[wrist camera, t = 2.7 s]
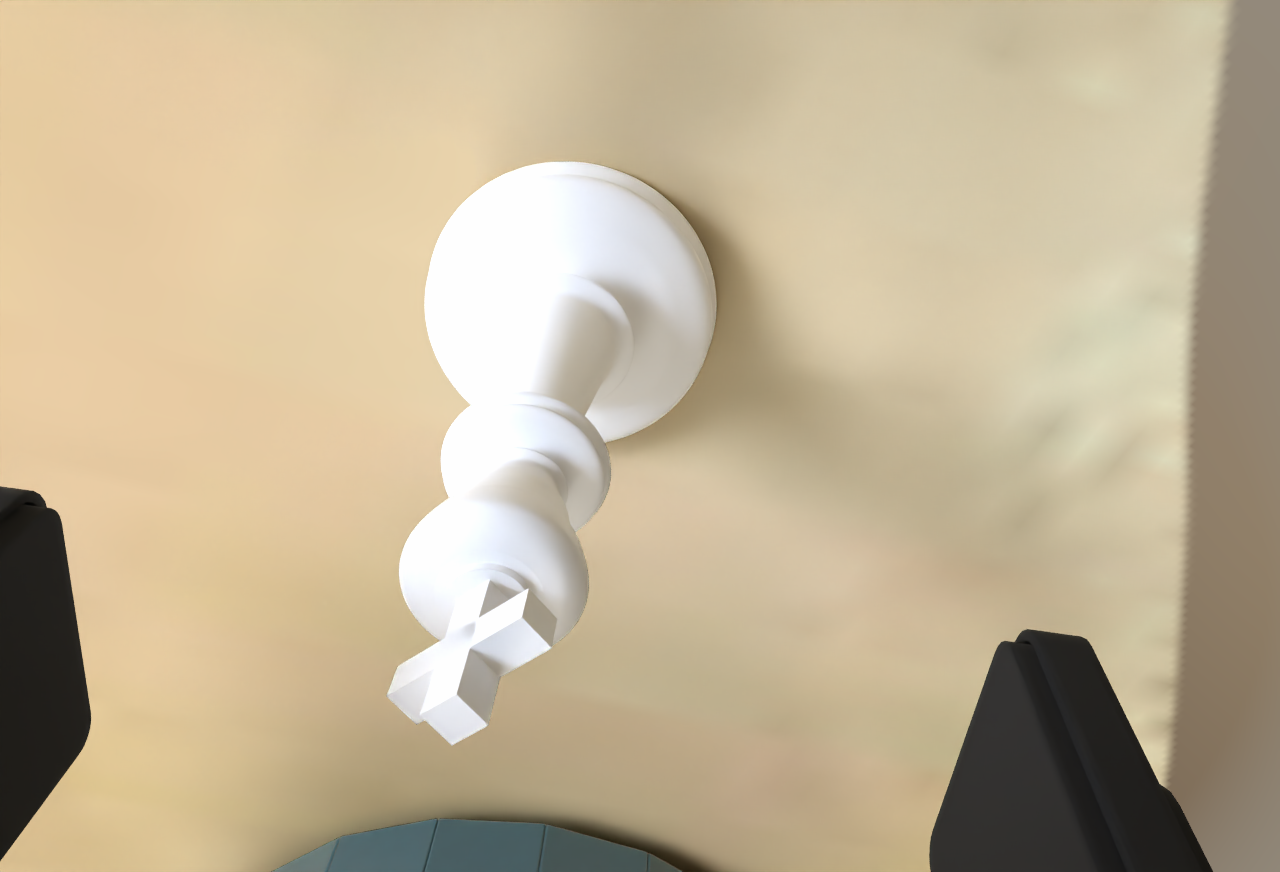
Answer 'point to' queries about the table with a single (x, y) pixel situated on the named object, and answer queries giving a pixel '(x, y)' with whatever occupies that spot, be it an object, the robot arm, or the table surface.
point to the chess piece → (539, 411)
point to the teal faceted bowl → (474, 850)
